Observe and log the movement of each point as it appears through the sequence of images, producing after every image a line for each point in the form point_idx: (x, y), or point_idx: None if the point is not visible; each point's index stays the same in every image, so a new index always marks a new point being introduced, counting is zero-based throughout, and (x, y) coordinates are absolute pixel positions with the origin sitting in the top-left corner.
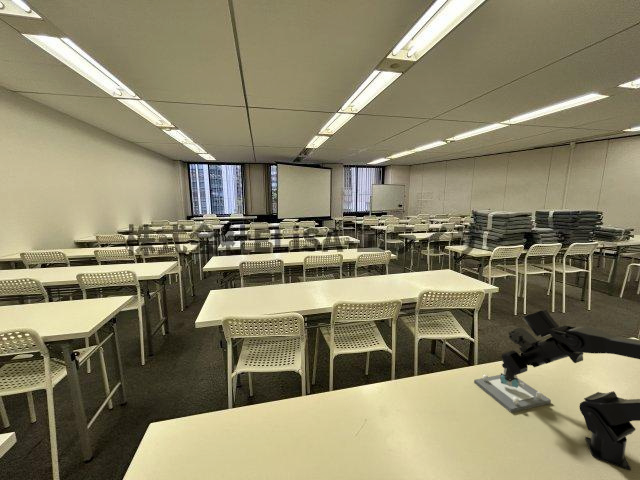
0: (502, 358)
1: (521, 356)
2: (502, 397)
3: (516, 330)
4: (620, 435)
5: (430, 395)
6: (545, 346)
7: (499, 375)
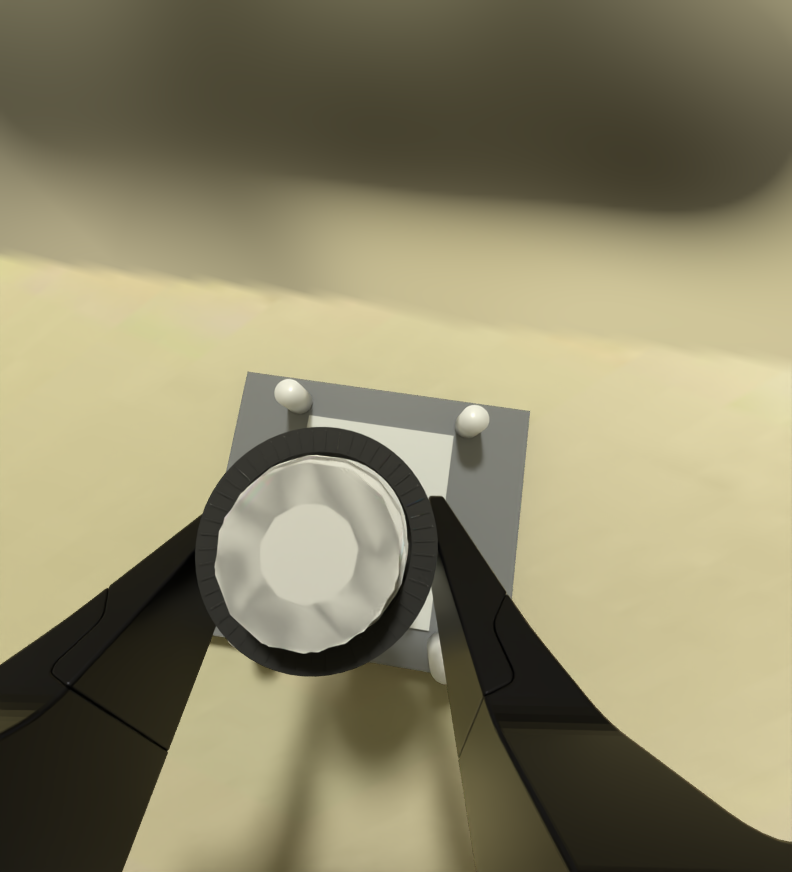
0: (226, 476)
1: (461, 629)
2: None
3: None
4: None
5: None
6: None
7: (437, 403)
